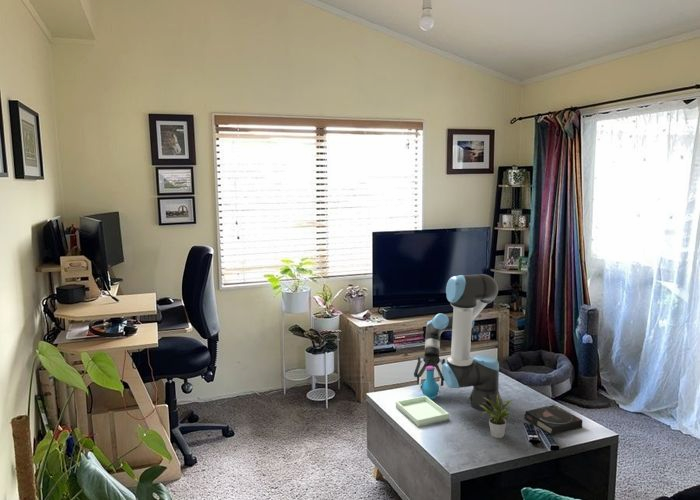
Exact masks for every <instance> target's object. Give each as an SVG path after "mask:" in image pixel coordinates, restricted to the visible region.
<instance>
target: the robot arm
mask: <svg viewBox="0 0 700 500" xmlns="http://www.w3.org/2000/svg"><path fill="white" fill-rule="evenodd" d="M445 294H446V299H447V301H448V302H449V303H450V306H451V307H452V308H453V310H452V311H453V312H452V314H451V315H446V314H444V313H437V314H436V315H435V316H434V317H433V318H432V319H431V320H428V321H427V322H426V327H425V339H424V341H425V342H424V354H423V355H424V356H423V357H422V358H421V357H418V358H417V364H416V366H415V369H414V371H413V376H414V378H416V384H417V385H418V392H422V390H421V385H422V375H424V373H425V371H426V367H427V366H433V367H434V368H435V370H436V372H437V373H438V375H439V382H438V385H439V392H438V394H441V393H442V392H441V391H442V387H444V384H446V386H447V387H448V388H450V389H461V388H466V387H467V388H468V387H472V391H471V394H470V395H469V399H468V401H469V402H468V404H469V405H470V407H471V408H473V409H475V410H477V411H485V410H484V409H483V408H482V407H481V406H484V407H485V408H487V409H488V410H490V411H491V412H494V410H493V408H492V407H493V406H491V405H492V404H490V403H489V402H488V400H487V399H489V400H490V401H491V402H492V401H493V402H494V403H493V402H492V403H493V405H494V404H495V405H496V400H497V395H498V397H499V404H500V402H501V399H502V397H501V393H500V391H499V386H500V385H499V384H500V381H499V376H500V373H499V372H500V364H499V361H498V359H496V358H494V357H493V356H492V357H491V356H489V355H484V354H483V355H482V354H477V355H475V356H473V359H472V357H471V342H472V341H471V340H472V329H473V328H474V327H475V318H477V316H478V315H479V314H480V313H481V312H482V311H483V309H484V308H486V306H487V305H488V304H490V303H493V301H495V299H496V297H497V296H498V294H499V286H498V283H497V281H496V280H495V279H494V277H492V276H491V275H488V274H486V273H485V274H484V273H479V274H466V275H465V274H460V275H454V276H451V277H450V278H449V279H448V281H447V283H446V287H445ZM447 331H448V332H449V331H451V344H450V345H451V346H450V347H451V348H450V355H448V356H447V357H446V358H447V359H444V358H442V359H440V347H441V346H440V345H441V334H442V333H443V332H447ZM423 362H424V363H423ZM422 363H423V366H422V367H421V364H422ZM439 363H440V364H441V369H440V367H439V365H438V364H439ZM444 382H445V383H444ZM483 397H484V398H483ZM485 398H487V399H485ZM484 403H485V404H484ZM486 404H487V405H486ZM480 405H481V406H480ZM495 405H494V406H495ZM496 407H497V405H496ZM496 407H495V408H496ZM492 410H493V411H492Z"/></svg>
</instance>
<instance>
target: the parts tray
mask: <svg viewBox="0 0 700 500" xmlns="http://www.w3.org/2000/svg"><path fill="white" fill-rule="evenodd" d="M395 408H396V409H397V410H398V411H399V412H400V413H402V414H403V416H405V417H406V418H407V419H408V420H409V421H410V422H411V423H413V424H414V425H415V426H416V427H417V428H418V427H422V426H423V427H424V426H427V425H432V424H437V423H441V422H444V421H445V422H446V421H450V413H449V412H448V411H446V410H445V409H444V408H443V407H441V406H440V405H438V404H437V403H436V402H434V401H433V399H429V398H428V397H427V396H423V395H421V396H416V397H412V398H406V399H401V400H397V401H395Z"/></svg>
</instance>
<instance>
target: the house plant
mask: <svg viewBox="0 0 700 500" xmlns="http://www.w3.org/2000/svg"><path fill="white" fill-rule="evenodd" d="M483 398H484V397H483ZM485 399H487V398H485ZM487 400H488V402H489V403H490V404H492V405H491V406H493V407H492V408H493V410H494V411H493V410H492V411H490V410H488V409H487V408H485V407H484V406H481V405H480V406H481V407H482V408H483V409H484V410H485V411H483V412H481V413H482V414H488V415H490V418H489V419H488V424H489V429H490V431H489V432H490V435H491V436H492V437H493V438H496V439H501V438H503V437H504V436H505V430H506V428H507V427H506V426H507V420H506V419H504V418H508V419H510V418H511V417H510V414H511V412H510V411H509V410H507V407H508V406H509V405H510V404H511V403H512V401H515V400H516V398H515V399H510V400H505V401H504V402H503V399H502V398H501V402H500V404H499V397H498V395H497V400H496V405H497V407H496V405H495V404H494V405H495V406H494V405H493V403H494V402H493V401H492V402H493V403H492V402H491V401H490V400H489V399H487ZM484 404H485V403H484ZM504 404H505V405H504ZM486 405H487V404H486ZM495 407H496V408H495ZM509 413H510V414H509Z"/></svg>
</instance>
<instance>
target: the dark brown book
mask: <svg viewBox="0 0 700 500" xmlns="http://www.w3.org/2000/svg"><path fill="white" fill-rule="evenodd" d="M524 419H525V420H526V421H527V422H529V423H531V424H533V425H534V426H535V427H537V428H539V429H541V428H542V429H544V430H545V431H547V432H548V433H550V434H551V435H550V434H549V435H550V436H554V435H558V434H563V433H566V432H570V431H575V430H578V429H583V419H582V418H580V417H578V416H576V415H574V414H572V413H570V412H569V411H567V410H565V409H563V408H562V407H559V406H558V405H556V404H551V405H548V406H547V405H546V406H543V407H538V408H534V409H529V410H525V414H524ZM542 429H541V430H542ZM544 430H543V431H544ZM545 431H544V432H545ZM547 432H546V433H547ZM548 433H547V434H548Z"/></svg>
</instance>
